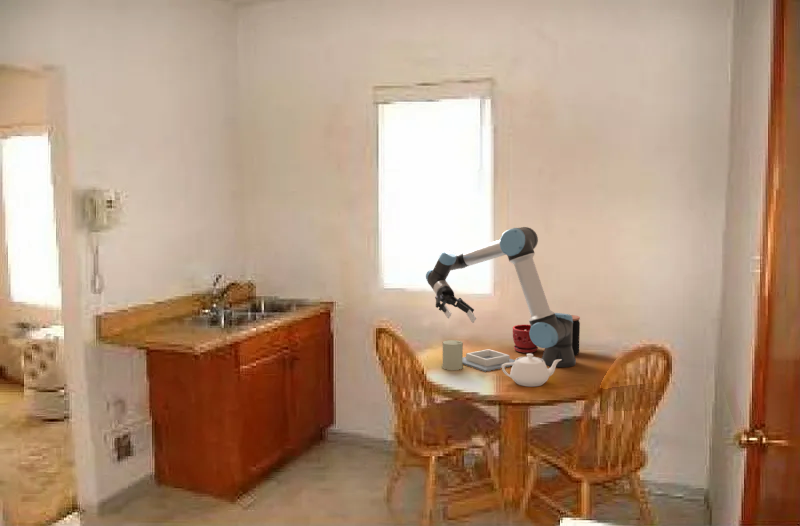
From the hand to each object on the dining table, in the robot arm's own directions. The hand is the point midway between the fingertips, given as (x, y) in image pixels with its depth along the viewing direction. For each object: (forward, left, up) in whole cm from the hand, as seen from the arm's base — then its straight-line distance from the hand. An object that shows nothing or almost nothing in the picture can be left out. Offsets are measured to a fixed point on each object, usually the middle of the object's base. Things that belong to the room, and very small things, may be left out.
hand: (462, 318), depth 294 cm
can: (+1, +5, -22) cm, 23 cm away
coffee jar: (-11, -56, -22) cm, 61 cm away
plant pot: (+4, -43, -22) cm, 49 cm away
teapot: (-36, -7, -22) cm, 43 cm away
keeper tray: (-2, -13, -22) cm, 26 cm away
